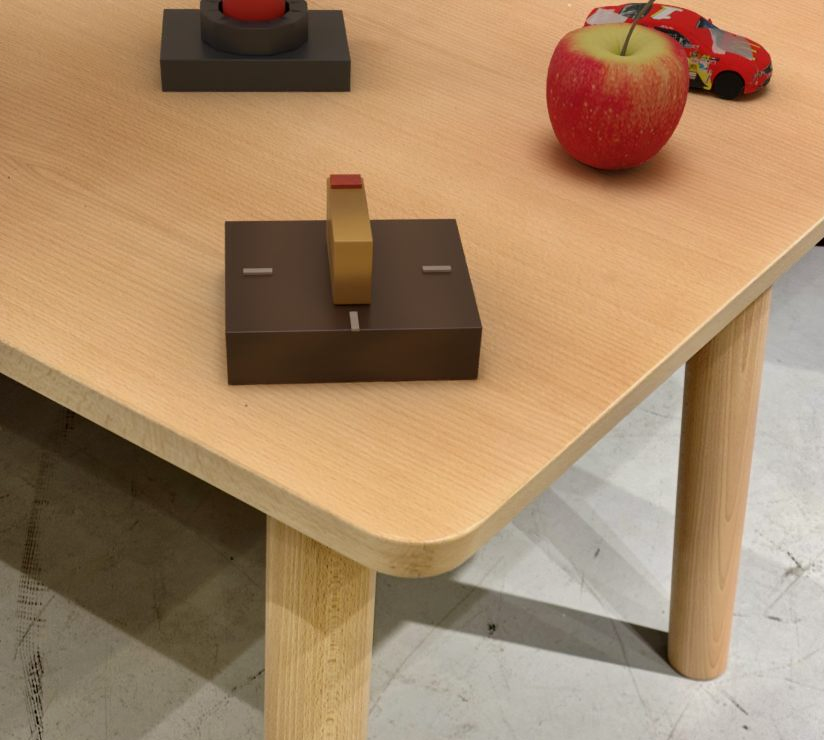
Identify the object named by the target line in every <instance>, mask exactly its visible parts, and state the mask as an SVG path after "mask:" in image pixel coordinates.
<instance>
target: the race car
mask: <svg viewBox="0 0 824 740" xmlns="http://www.w3.org/2000/svg"><path fill="white" fill-rule="evenodd" d="M646 4H647V2H627V3H623V4H619V5H605V6H599V7H598V6H597V7H594V8H593V9H592V10H591V11H590V12H589V14H587V17H586V19H585V20H584V25H582V27H587V26H592V25H598V24H607V23H631V24H633V22H634V21H635V19H636V17H637V16H638V15H639V13H640V12H641V10H642V9H643V8H644V6H645V5H646ZM637 24H638V25H642V26H646V27H650V28H653V29H656V30H658V31H661V32H663V33H665V34H667V35H669V36H671V37H672V38H674V39H675V40H677V41H678V42H679V43H680V44H681V46H682V47H683V49H684V51H685V52H686V55H687V59H688V64H689V87H691V88H697V89H702V90H708V91H711V89H712V87H713V86H714V91H715V93H716V94H717V96H719V97H720V98H722V99H723V100H724V99H725V100H733V99H735V98H737V97H738V96H740V95H741V94H742V91H743V94H751V93H755V92H757V91H760V90H761V89H763V88H765V87H766V86H767V85H768V84H769V83H770V81H771V78H772V77H773V72H774V67H773V61H772V58H771V54H770V53H769V52H768V51H767V49H765V47H763V45H762V44H760V43H758V42H757V41H754V40H752V39H750V38H748V37H746V36H743V35H739V34H736V33H733V32H731V31H728V30H724V29H721V28H720V27H718V26H716V25H715V24H713V21H712V18H708V19H707V18H705V17H704V16H703V15H701V14H700V13H698V12H696V11H693V10H691V9H689V8H684V7H680V6H677V5H670V4H664V3H656V2H653V4H652V5H651V6H650V7H649V8H648V9H647V10H646V11H645V13H644V14H643V15H642V16H641V18H640V19H639V21H638V22H637Z"/></svg>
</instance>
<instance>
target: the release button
mask: <svg viewBox="0 0 824 740" xmlns="http://www.w3.org/2000/svg"><path fill="white" fill-rule="evenodd" d="M222 3H223V13H224V15H226V16H227V17H230V18H235V19H239V20H243V21H267V20H271V19H276V18H280V17H282V16H283V15H284V14H285V0H222Z"/></svg>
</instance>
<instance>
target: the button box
mask: <svg viewBox="0 0 824 740" xmlns="http://www.w3.org/2000/svg"><path fill="white" fill-rule="evenodd" d="M308 7H309V6H308V1H307V0H285V14H284V15H283V16H282V17H280V18H276V19H271V20H267V21H243V20H239V19H235V18H230V17H227V16H226V15H224V13H223V3H222V0H200V1H199V8H164V9H163V11H162V22H161V23H162V24H161V37H160V49H159V51H160V53H159V69H160V83H161V91H162V93H350V92H351V75H352V73H351V69H352V68H351V67H352V59H351V54H350V48H349V41H348V36H347V29H346V23H345V22H346V21H345V17H344V11H343V10H342V9H309V8H308Z"/></svg>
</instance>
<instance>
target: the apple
mask: <svg viewBox="0 0 824 740" xmlns="http://www.w3.org/2000/svg"><path fill="white" fill-rule="evenodd" d="M655 1H656V0H648V1H647V2H646V3H647V4H646V5H645V6H644V8H643V9H642V10H641V12H640V13H639V15H638V16H637V17H636V19H635V21H634V22H633V24H631V23H607V24H598V25H592V26H587V27H583V26H582V27H579V28H576V29H574V30H570V31H569V32H567V33H566V34H565V35H564V36H562V38H561V39H560V40H559V41H558V43H557V45H555V48H554V50H553V52H552V55H551V58H550V60H549V64H548V68H547V76H546V81H545V98H546V99H545V100H546V108H547V113H548V118H549V122H550V124H551V127H552V130H553V133H554V135H555V137H556V140H557V141H558V143H559V144H560V146H561V147H562V148H563V150H564V151H565V152H566V153H567V154H568V155H569V156H570V157H572V158H573V159H575V160H577V161H578V162H580V163H583V164H584V165H587V166H589V167H591V168H595V169H598V170H606V171H617V170H618V171H619V170H626V169H631V168H634V167H637V166H640V165H643V164H645V163H647V162H648V161H650V160H652V158H654V157H655V156H656V155H657V154H659V152H660V151H661V150H662V149H663V148H664V147H665V146H666V145H667V144H668V142H669V140H671V137H672V136H673V134H674V132H675V130H677V128H678V125H679V123H680V121H681V119H682V116H683V115H684V111H685V107H686V105H687V101H688V94H689V88H690V86H689V64H688V59H687V55H686V52H685V51H684V49H683V47H682V46H681V44H680V43H679V42H678V41H677V40H675V39H674V38H672V37H671V36H669V35H667V34H665V33H663V32H661V31H658V30H656V29H653V28H650V27H646V26H642V25H638V24H637V22H638V21H639V19H640V18H641V16H642V15H643V14H644V13H645V11H646V10H647V9H648V8H649V7H650V6H651V5H652V4H653V3H655Z"/></svg>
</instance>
